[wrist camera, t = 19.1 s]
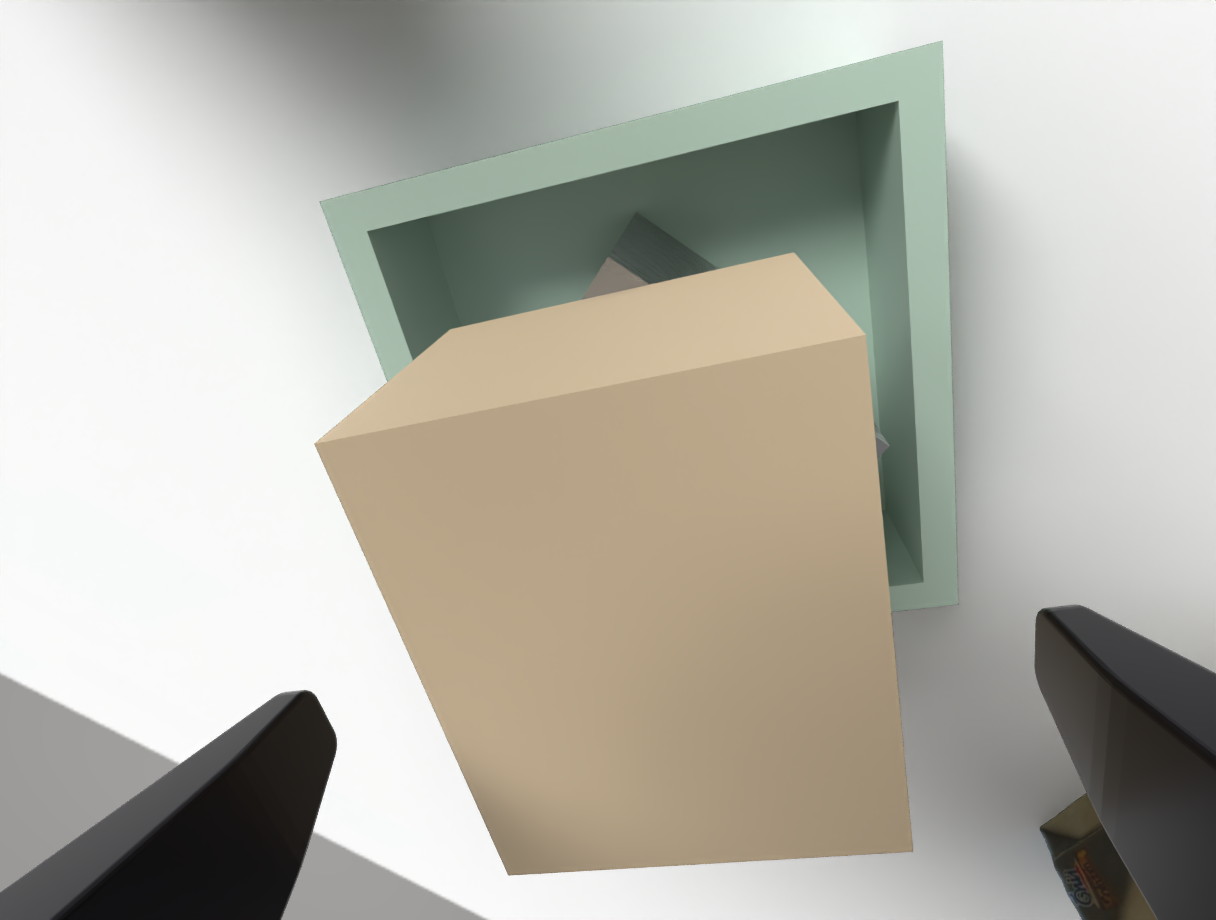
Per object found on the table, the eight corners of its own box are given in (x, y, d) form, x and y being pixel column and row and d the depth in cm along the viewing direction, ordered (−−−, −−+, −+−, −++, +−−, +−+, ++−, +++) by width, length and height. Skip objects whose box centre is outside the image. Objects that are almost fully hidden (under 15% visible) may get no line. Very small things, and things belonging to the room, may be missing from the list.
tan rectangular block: (450, 328, 12) (314, 444, 8) (794, 251, 11) (865, 335, 7) (560, 656, 15) (508, 875, 11) (841, 622, 14) (913, 851, 10)
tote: (398, 186, 19) (319, 201, 15) (880, 62, 17) (942, 40, 12) (524, 568, 24) (490, 657, 20) (907, 515, 22) (958, 604, 17)
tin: (523, 393, 20) (449, 512, 14) (636, 211, 18) (608, 256, 11) (692, 498, 21) (693, 654, 15) (821, 339, 19) (889, 446, 12)
